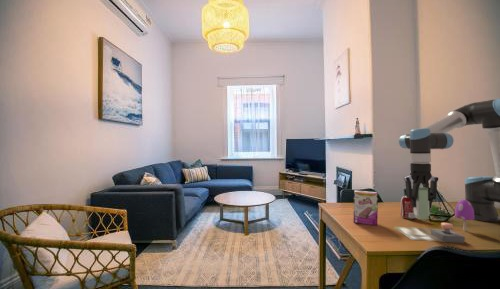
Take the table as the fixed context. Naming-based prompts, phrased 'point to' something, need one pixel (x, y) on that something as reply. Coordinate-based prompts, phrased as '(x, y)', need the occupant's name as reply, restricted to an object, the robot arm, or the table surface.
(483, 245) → the table surface
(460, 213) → the toy
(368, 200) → the candy bar box
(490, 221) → the robot arm
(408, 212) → the soda can
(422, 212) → the pale green block
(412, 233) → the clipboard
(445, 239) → the button housing
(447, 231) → the button cap
